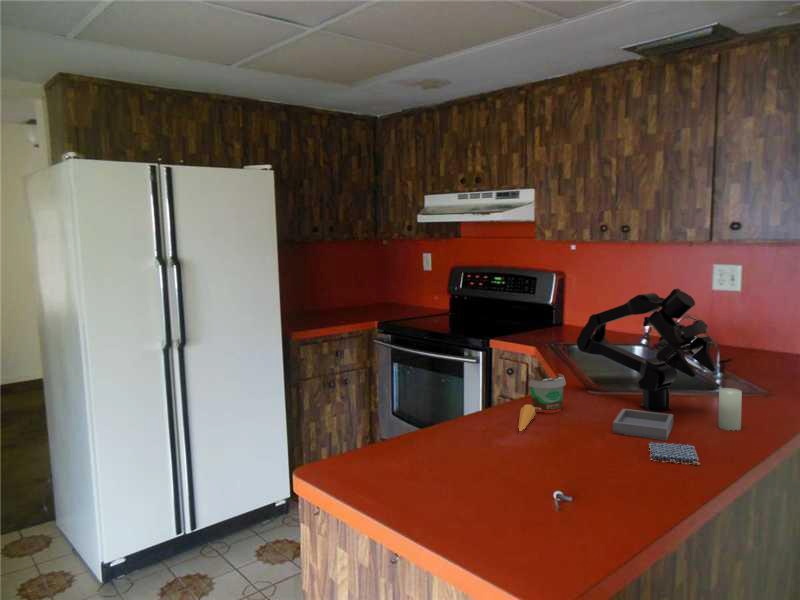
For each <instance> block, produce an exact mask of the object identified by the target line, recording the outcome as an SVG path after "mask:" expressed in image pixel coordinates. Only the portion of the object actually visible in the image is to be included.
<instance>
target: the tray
mask: <svg viewBox="0 0 800 600" xmlns="http://www.w3.org/2000/svg"><path fill="white" fill-rule="evenodd" d="M673 427H674V414H672V413H664V412H662V413H661V412H657V411H647V410H637V409H628V408H622V409H621V410H620V412H619V413H618V414H617V416H616V417H615V419H614V420H613V422H612V434H614V433H617V434H616V435H621V434H624V435H623V436H628V435H630V437H635V436H636V437H637V438H643V437H644V438H643V439H650V438H651V439H652V440H657V439H658V440H657V441H664V440H665V441H666V442H667V441H668V439H669V437H670V434H671V431H672V429H673ZM668 436H669V437H668Z"/></svg>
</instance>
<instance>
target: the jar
mask: <svg viewBox="0 0 800 600" xmlns="http://www.w3.org/2000/svg"><path fill="white" fill-rule="evenodd" d="M742 394H743V391H742V390H740V389H737V388H732V387H721V388H719V390H718V423H717V424H718V425H717V427H718V428H720V429H722V430H723V431H724V430H725V431H730V430H732V431H731V432H733V431H734V432H735V430H737V431H740V430H741V429H742V399H743V397H742V396H743V395H742Z"/></svg>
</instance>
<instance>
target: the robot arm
mask: <svg viewBox="0 0 800 600" xmlns="http://www.w3.org/2000/svg"><path fill="white" fill-rule="evenodd" d="M695 305H696V302H695V300H694V298H693V297H692V296H691V295H689V294H688V293H687V292H685V291H683V290H681V289H680V288H673V290H671V292H669V295H667V296H666V297H665V298H664V297H660V296H659V295H658V294H657V293H656V292H649V293H641V294H637V295H635V296H633V297H632V298H630V299H629V300H628V301H627V302H625V303H623V304H621V305H617V306H616V307H612V308H610V309H608V310H607V309H606V310H604V311H601V312H598V313H593V314H591V315H590V316H589V317H588V321H587V322H586V323H585V325H584V326H583V328H582V329H581V330H580V332H579V335H578V337H577V339H576V345H577V349H578V350H579V351H580V352H582V353H584V354H589V355H596V356H602V357H604V358H606V359H608V360H611V361H613V362H616V363H617V364H620V365H621V366H624V367H626V368H628V369H630V370H633V371H635V372H637V373H638V374H640V376H641V377H642V378H640V379H639V380H638V381H637V382H638V386H639V388H640V389H641V390H642V403H639V406H640V407H642V408H643V409H645V410H648V412H659V411H671V410H672V407H670V403H671V402H670V397H671V396H670V395H671V394H670V392H669V387H672V385H673V382H675V381H676V379H677V378H678V372H677V370H678V371H679V372H682V373H684V374H686V375H687V376H689V377H692V378H695V377H696V375H697V374H696V372H695V371H694V369H693V368H692V366H691V364H690V363H689V362H688V360H687V359H686V357H685V353H686V352H687V353H688V354H689V355H692V356H691V358H692V359H694V360H695V361H696V362H698V363H699V364H701V366H703V367H704V368H705V369H707V370H709V372H711V373H714V372H715V371H716V367H715V364H714V362H713V359H712V356H711V353H710V349H711V347H712V344H713V342H714V341H713V340H712V338H711V337H710V336H709V335H704V334H707V333H708V331H707V329H708V326H709V325H708V324H706V322H705V321H703V320H702V319H698V320H695V321H692V322H693V323H691V324H688V325H686V326H685V325H684V324H679V323H677V321H676V320H675V319H679V320H680V319H681V318H682V317H684V315H686V314H687V313H688V312H689V311H690V310H692V308H693V307H695ZM644 314H650V315H649V316H644V319H643V320H644V321H643V327H649V326H652V327H653V328H654V330H655V331H656V333H658V334H659V338H658V340H659V341H660V342H665V345H663V346H662V348H660V349H659V350H658V351H657V352H656V353H655V357H651V358H644V357H643V356H640V355H638V354H636V353H634V352H631V351H628V350H627V349H624V348H621V346H617V345H616V344H615V345H614V344H612V343H610V342H609V340H608V339H607V338H606V337H605V336H606V334H607V328H606V326H607V325H608V324H609V323H611V322H615V321H617V320H621V319H624V318H628V317H630V316H637V315H644ZM702 334H703V335H702ZM699 335H701V336H699ZM696 336H697V337H696Z"/></svg>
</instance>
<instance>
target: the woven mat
mask: <svg viewBox="0 0 800 600" xmlns="http://www.w3.org/2000/svg"><path fill="white" fill-rule="evenodd" d="M678 443H679V442H678ZM678 443H674V442H672V443H670V442H669V443H667V441H666V442H661V443H660V441H657V442H656V441H655V442H653V441H652V440H651V441H650V442H649V443H648V446H649V447H647V448H648V452H649V451H650V454H649V460H650V461H651V460H653V461H652V462H655V461H657V463H666V462H670V463H669V464H678V463H682V464H681V465H689V464H693V465H692V466H699V465H700V464H701V463H700V462H699V456H698V452H697V450H696V449H695V446H693V445H692V444H689V443H686V444H684V443H683V444H681V443H679V444H678ZM649 448H650V450H649ZM651 453H652V454H651ZM652 457H653V458H652ZM655 457H656V458H655ZM650 458H651V459H650ZM656 459H657V460H656ZM658 459H660V461H661V462H659V460H658ZM667 460H668V461H667ZM678 461H679V462H678ZM682 461H683V462H682ZM671 462H672V463H671ZM690 462H691V463H690Z"/></svg>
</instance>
